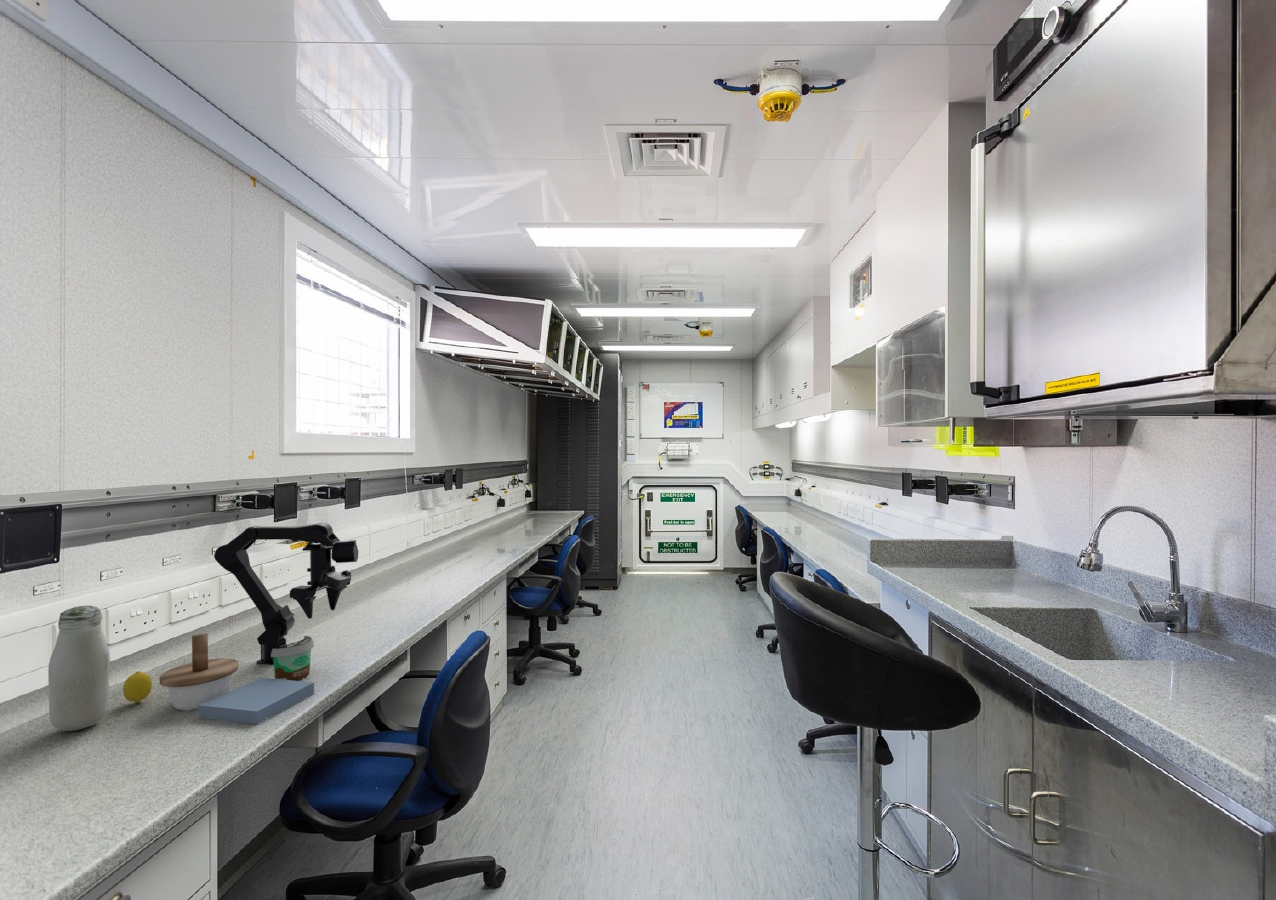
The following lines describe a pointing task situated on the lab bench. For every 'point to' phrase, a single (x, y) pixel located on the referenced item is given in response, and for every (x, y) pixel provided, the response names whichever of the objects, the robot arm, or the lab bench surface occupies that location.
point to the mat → (256, 700)
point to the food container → (293, 660)
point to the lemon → (137, 687)
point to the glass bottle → (79, 670)
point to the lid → (199, 667)
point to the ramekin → (198, 693)
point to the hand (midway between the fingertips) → (321, 614)
